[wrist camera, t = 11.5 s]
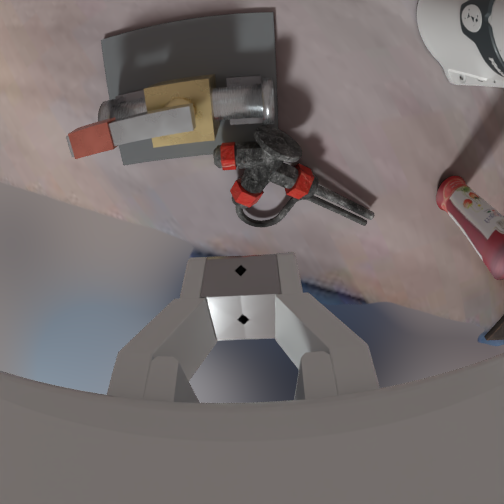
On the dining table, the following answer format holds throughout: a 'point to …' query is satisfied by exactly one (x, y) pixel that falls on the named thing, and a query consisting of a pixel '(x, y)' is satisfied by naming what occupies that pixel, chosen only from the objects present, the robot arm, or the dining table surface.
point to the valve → (277, 176)
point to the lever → (130, 129)
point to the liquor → (475, 222)
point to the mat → (191, 69)
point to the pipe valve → (199, 104)
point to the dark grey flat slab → (496, 331)
